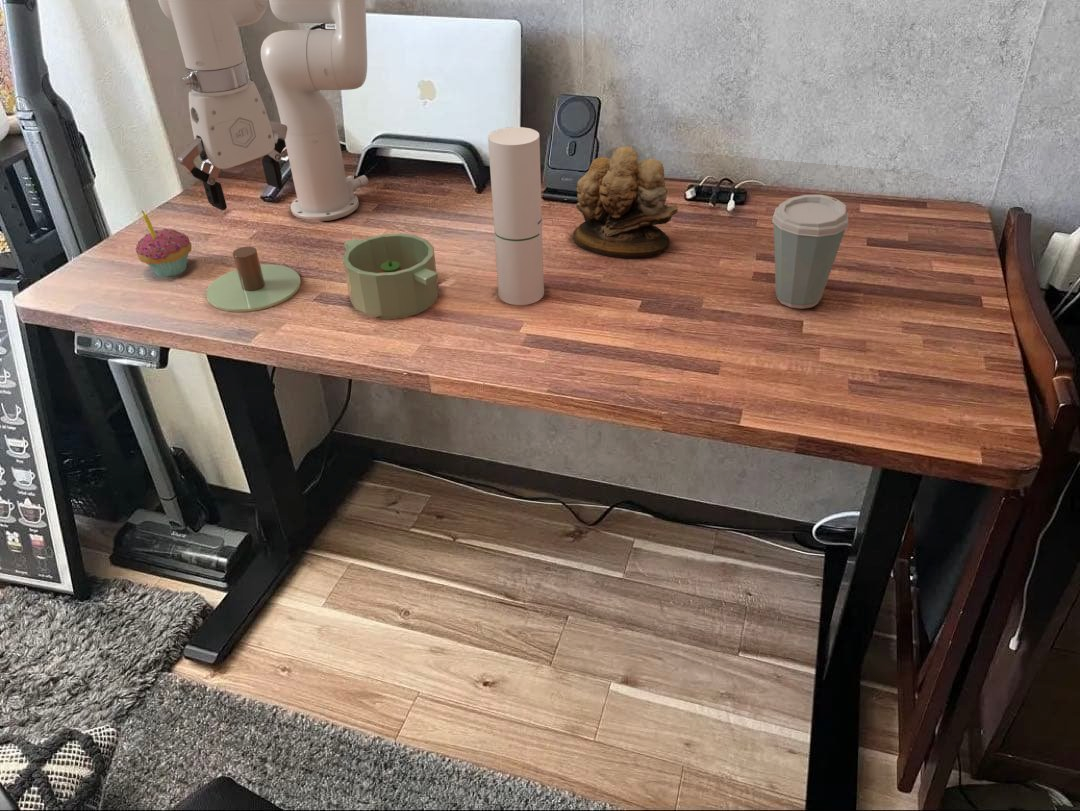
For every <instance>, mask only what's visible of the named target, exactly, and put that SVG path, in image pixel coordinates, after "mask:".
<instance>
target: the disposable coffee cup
mask: <svg viewBox="0 0 1080 811" xmlns="http://www.w3.org/2000/svg"><path fill="white" fill-rule="evenodd" d="M771 222H772V223H773V239H774V240H773V244H774V245H773V246H774V248H773V249H774V281H775V282H774V284H775V285H774V286H775V287H774V288H775V296H776V299H777V301H778V302H779V303H780V304H781V305H783V306H786V307H789V308H791V309H801V310H803V309H810V308H814V307H815V306H817V305H818V304H819V302H820V301H821V300H822V297H823V294H824V292H825V289H826V286H827V283H828V280H829V278H830V275H831V271H832V269H833V266H834V263H835V260H836V258H837V254H838V251H839V249H840V246H841V242H842V240H843V237H844V234H845V232H846V230H847V229H848V228H849V213H848V212H847V205H846V204H845V203H843V202H842V201H841V200H839V199H838V198H835V197H832V196H829V195H825V194H803V195H802V194H801V195H798V196H793V197H789V198H788V199H786V200H784V201H783V202H781V203H779V204H778V206H777V207H776V208H775V209H774V213H773V216H772V220H771Z"/></svg>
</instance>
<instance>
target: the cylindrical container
mask: <svg viewBox="0 0 1080 811" xmlns="http://www.w3.org/2000/svg"><path fill="white" fill-rule="evenodd" d="M487 142H488V157H489V171H490V172H489V174H490V187H491V189H490V190H491V202H492V217H493V232H494V246H495V248H494V249H495V262H496V280H497V292H498V293H497V294H498V298H499V300H501V301H502V302H504V303H506V304H508V305H513V306H527V305H531V304H534V303H535V304H536V302H539V301H540V300H541V299H542V298H544V295H545V279H544V249H543V248H544V247H543V246H544V245H543V218H542V217H543V216H542V214H543V212H542V211H543V210H542V180H541V179H542V178H541V176H542V175H541V146H540V142H541V141H540V132H538V130H536V129H533V128H529V127H523V126H510V127H509V126H508V127H502V128H499V129H496V130H493V131H491V132H490V133H489V134H488V135H487Z"/></svg>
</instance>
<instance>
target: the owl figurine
mask: <svg viewBox="0 0 1080 811" xmlns="http://www.w3.org/2000/svg"><path fill="white" fill-rule="evenodd" d="M588 168H589V169H588V170H587V171H586V173H585V174H584V175H582V176H581V177H580V178H579V179H578V181H577V183H576V184H577V188H576V192H577V194H576V196H577V203H576V204H575V206H576V209H577V211H579V213H581V214H582V217H583V219H584V221H583V222H582V223H580V225H579V226H578V227H576V228H575V229H574V231H573V234H572V239H573V242H574V243H575V245H576V246H578V247H579V248H581V249H583V250H586V251H588V252H591V253H594V254H598V255H603V256H608V257H614V258H621V259H622V258H623V259H624V258H625V259H640V258H648V257H653V256H656V255H659V254H660V253H664V252H665V250H666V249H667V248H668V247H669V245H670V243H671V240H670V237H669V236H668V235H667V234H666V233H665V232H664V231H663V230H662V229H661V228H659V227H658V225H666V224H668V223H669V222H670V221H671V220H672V216H674V215H676V214H677V212H678V211H679V207H678V205H676V204H675V205H674V204H673V205H669V206H668V205H667V204H666V202H667V199H668V198H667V197H668V196H667V194H668V189H667V187H666V182H665V168H664V164H663V163H662V161H660V160H658V159H655V158H647V159H643V160H641V161H640V162H639V156H638V152H637V151H636V150H635V149H634V148H633V146H628V145H623V146H619V147H617V149H615V151H613V153H612V156H611V158H608V157H605V156H600V157H597V158H595V159H593V161H592V162H591V164H590V166H589V167H588ZM656 225H657V226H656Z"/></svg>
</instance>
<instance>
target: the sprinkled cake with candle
mask: <svg viewBox="0 0 1080 811" xmlns="http://www.w3.org/2000/svg"><path fill="white" fill-rule="evenodd" d="M141 212H142V215H141V216H142V218H143V220H144V222H145V224H146V227H147V228H148V230H149V233H147V234H145V235H144V236H143V237H141V239H140V240H138V242H137V244H136V246H135V252H136V255H137V258H138V260H139V261H140V263H141V262H142V263H144V264H146V265H148V266H149V267H150V268H151V270H152V271H153V272H154V274H155V275H156V276H158V277H162V278H169V277H174V276H177V275H180V274H182V273H184V272H185V271H186V270H187V268H188V263H187V262H188V257H189V254H190V252H192V242H191V241H190V238H189V236H188V235H186V234H185V233H182V232H180V231H177V230H175V229H169V228H163V229H157V230H155V229H154V227H153V224H152V223H151V220H150V218H149V216H148V214H147V213H146V212H144V210H143V209H141Z"/></svg>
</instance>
